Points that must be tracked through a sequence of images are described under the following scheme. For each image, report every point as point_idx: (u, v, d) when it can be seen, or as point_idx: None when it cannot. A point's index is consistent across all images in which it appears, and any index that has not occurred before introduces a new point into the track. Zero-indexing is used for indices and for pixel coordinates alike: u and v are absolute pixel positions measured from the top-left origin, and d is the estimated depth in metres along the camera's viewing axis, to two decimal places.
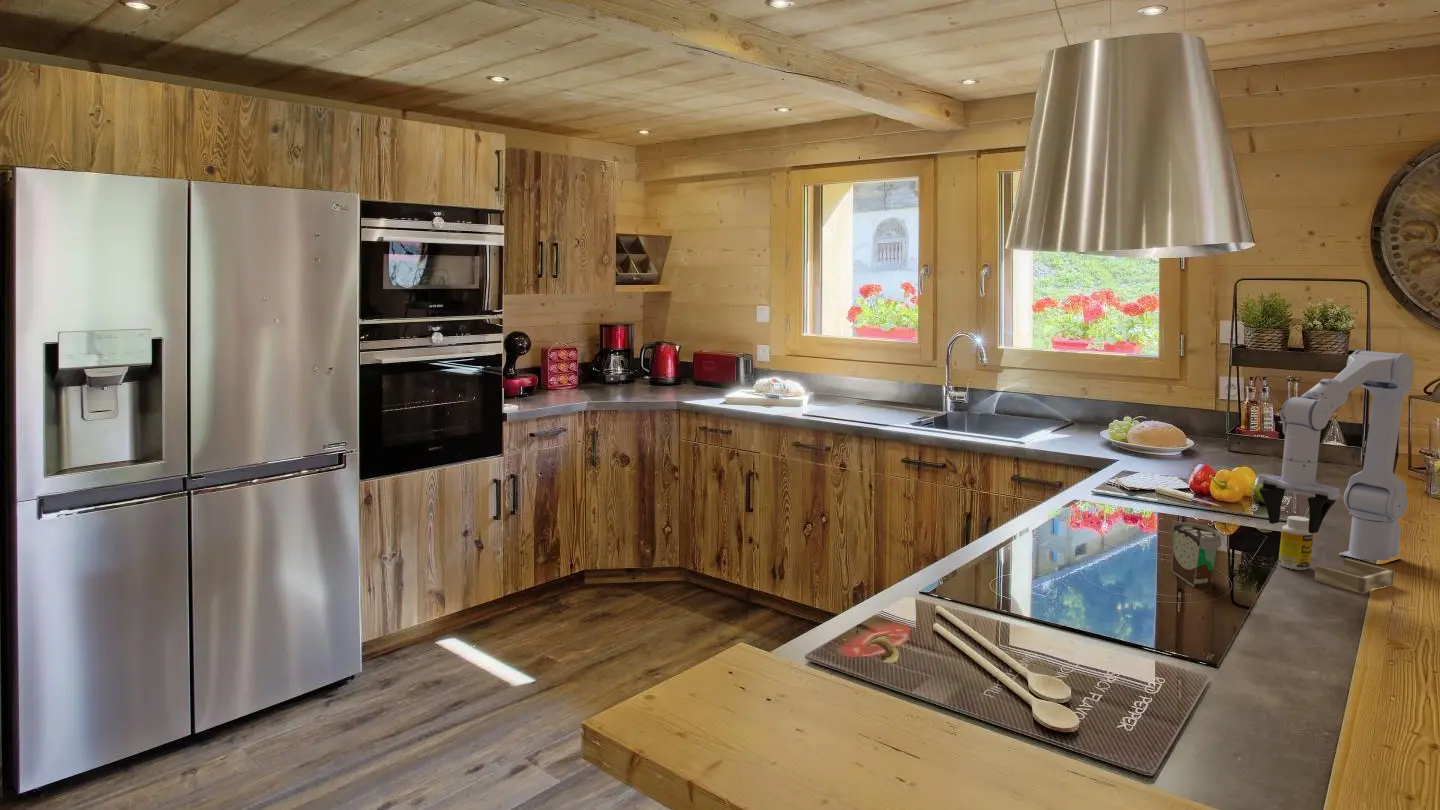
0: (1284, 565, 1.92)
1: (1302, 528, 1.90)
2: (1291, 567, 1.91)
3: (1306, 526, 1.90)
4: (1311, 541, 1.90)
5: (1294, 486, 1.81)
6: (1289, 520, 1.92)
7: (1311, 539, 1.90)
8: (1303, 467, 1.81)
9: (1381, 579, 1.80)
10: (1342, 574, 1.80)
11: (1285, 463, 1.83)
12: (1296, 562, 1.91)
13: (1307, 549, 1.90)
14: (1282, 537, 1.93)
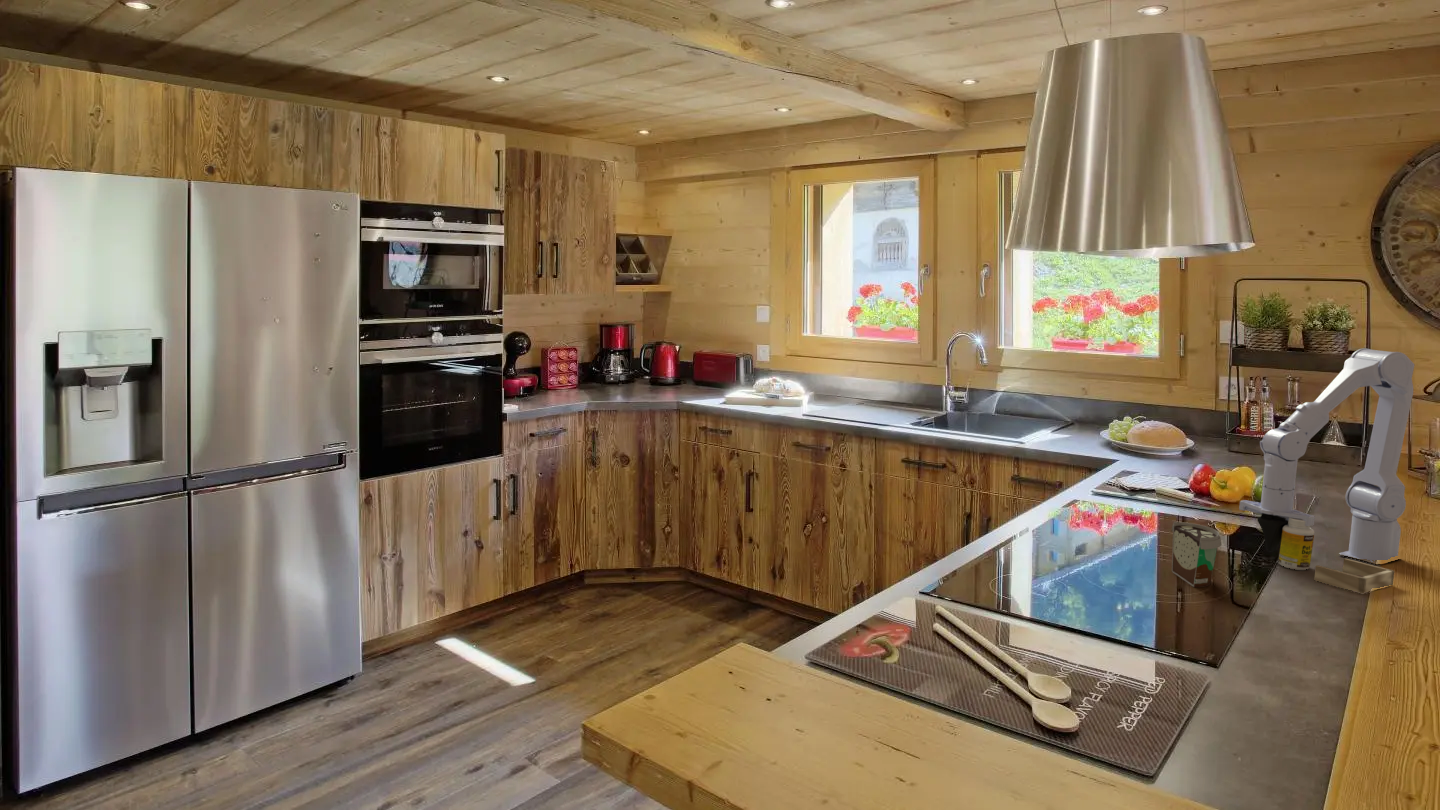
0: (1284, 565, 1.92)
1: (1303, 528, 1.90)
2: (1291, 567, 1.91)
3: (1307, 526, 1.90)
4: (1312, 541, 1.90)
5: (1272, 512, 1.93)
6: (1290, 520, 1.92)
7: (1312, 539, 1.90)
8: (1281, 495, 1.93)
9: (1381, 579, 1.80)
10: (1342, 574, 1.80)
11: (1264, 491, 1.95)
12: (1296, 562, 1.91)
13: (1307, 549, 1.90)
14: (1283, 537, 1.93)
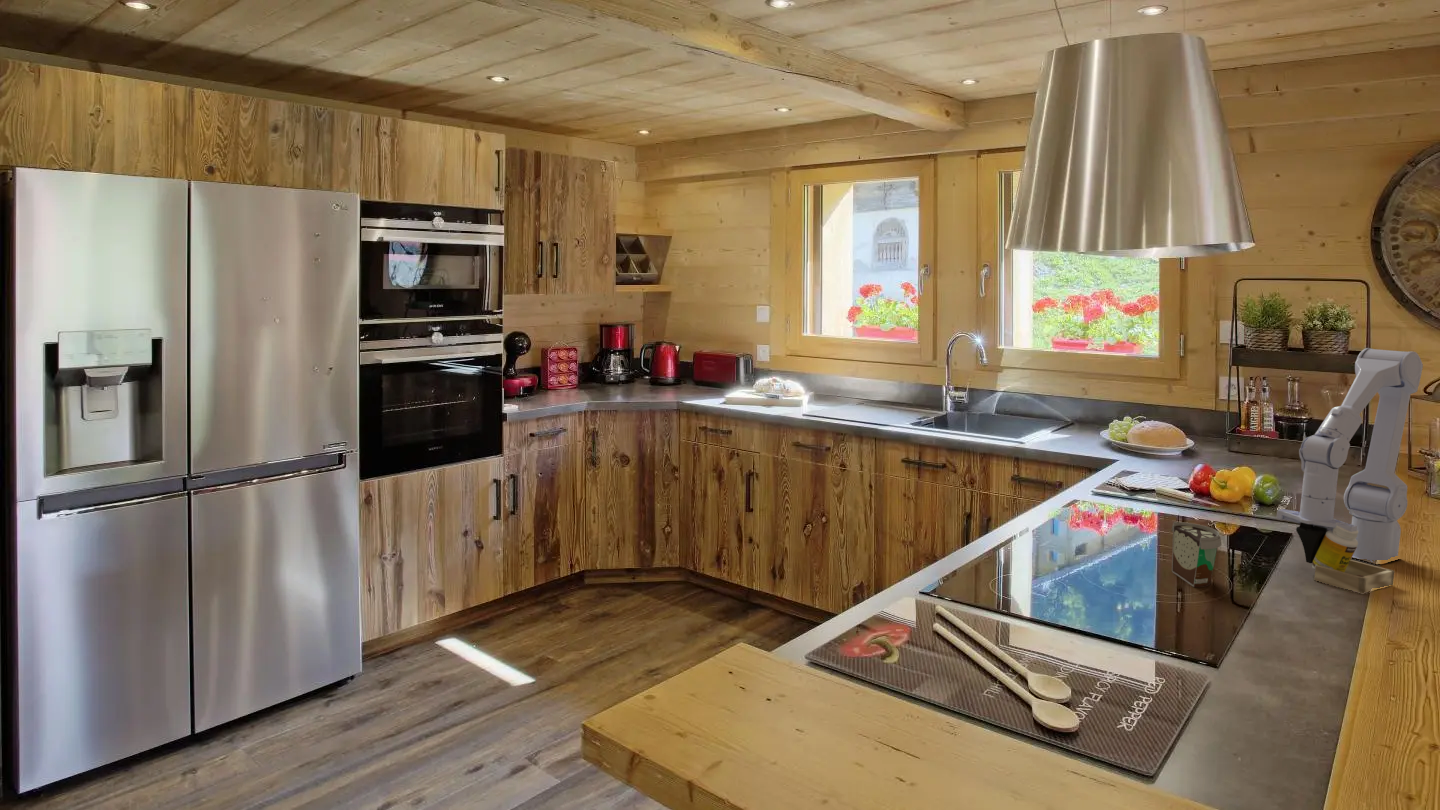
0: None
1: (1347, 539, 1.83)
2: None
3: (1353, 538, 1.83)
4: (1353, 553, 1.84)
5: (1312, 522, 1.87)
6: (1337, 528, 1.84)
7: (1353, 551, 1.83)
8: (1321, 504, 1.86)
9: (1381, 579, 1.80)
10: (1342, 574, 1.80)
11: (1304, 499, 1.88)
12: None
13: (1346, 560, 1.84)
14: (1324, 543, 1.86)
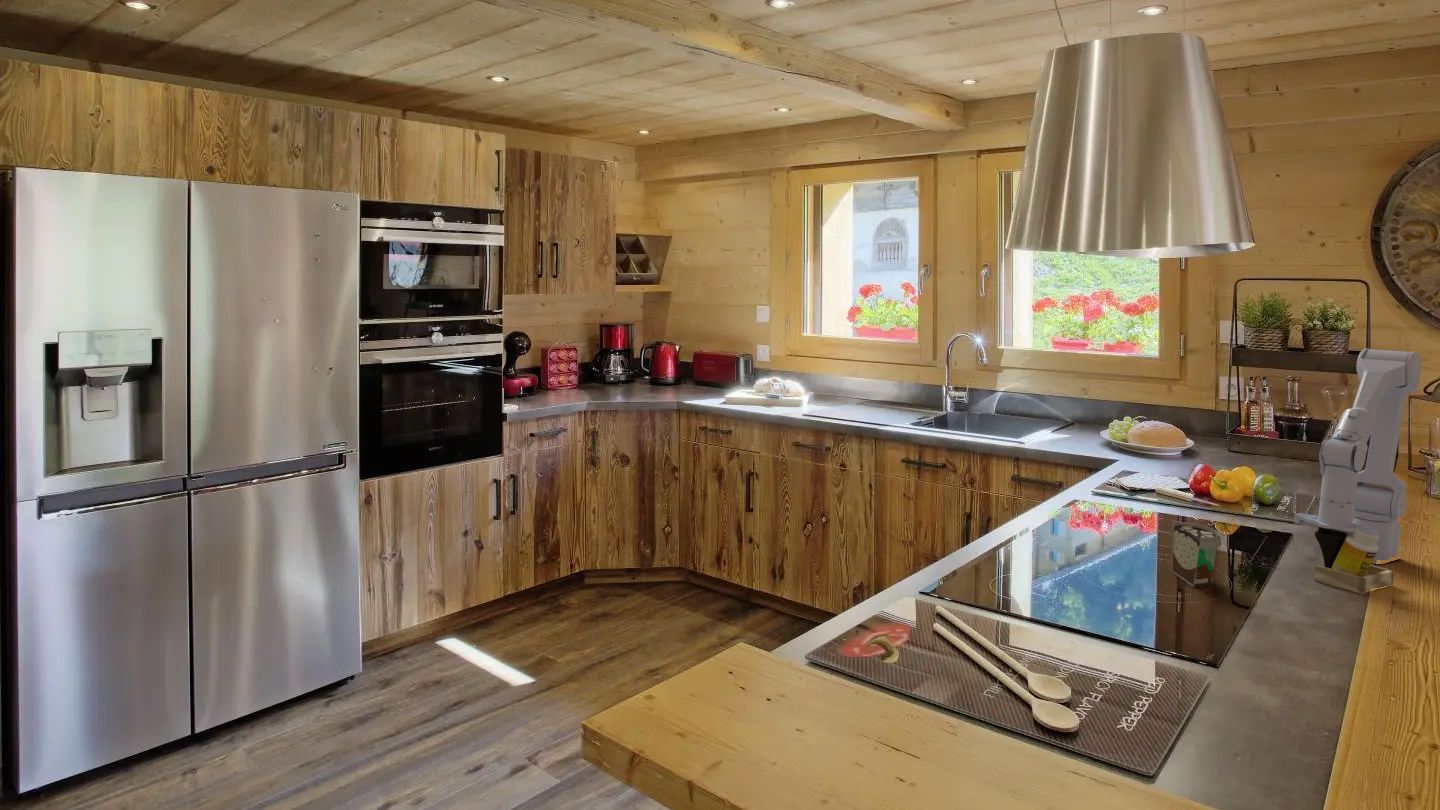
0: None
1: (1368, 544, 1.80)
2: None
3: (1373, 543, 1.79)
4: (1373, 558, 1.80)
5: (1332, 527, 1.83)
6: (1357, 533, 1.81)
7: (1374, 556, 1.80)
8: (1341, 508, 1.83)
9: (1381, 579, 1.80)
10: (1342, 574, 1.80)
11: (1322, 504, 1.85)
12: None
13: (1366, 565, 1.80)
14: (1343, 548, 1.82)
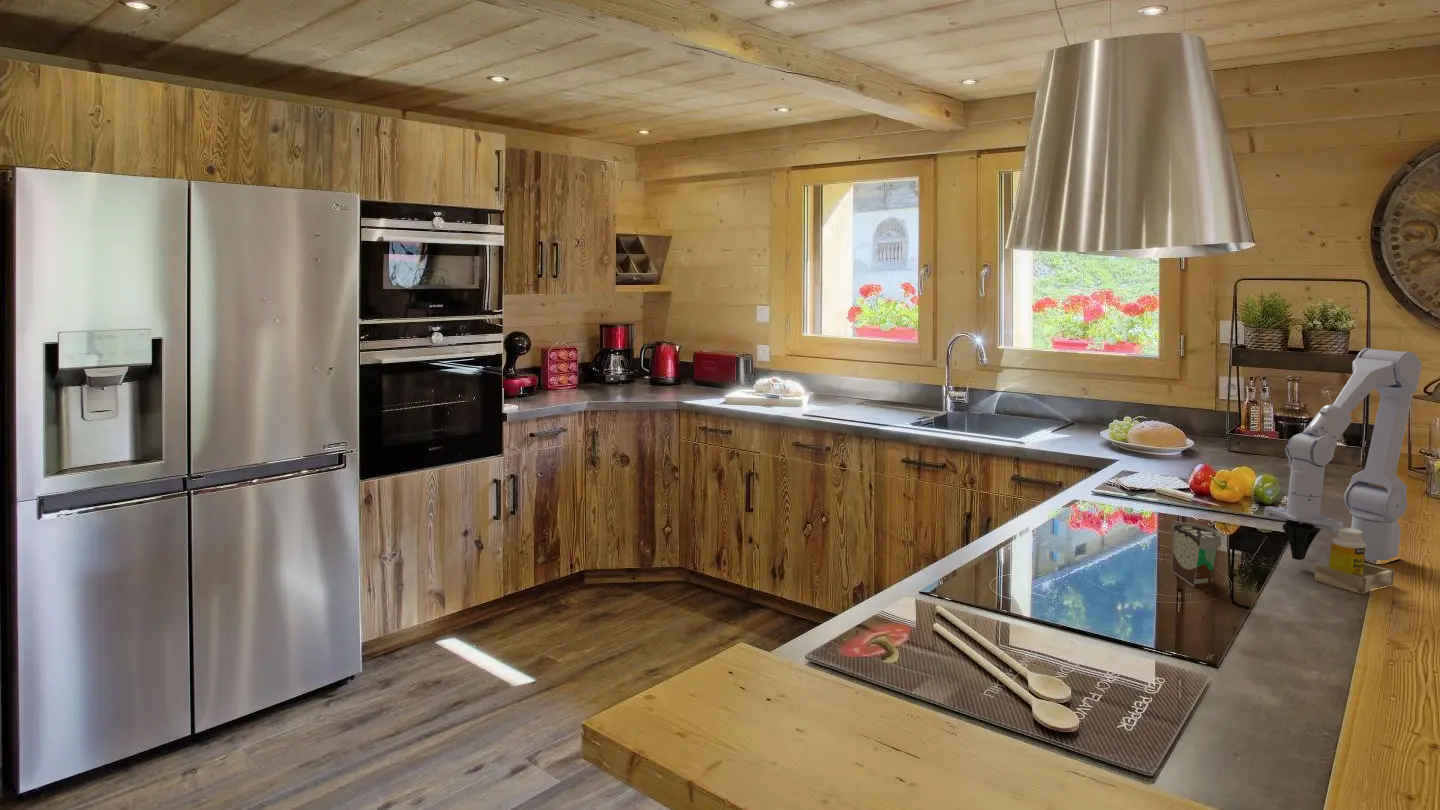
0: None
1: (1353, 540, 1.82)
2: None
3: (1358, 539, 1.82)
4: (1363, 554, 1.82)
5: (1299, 519, 1.89)
6: (1340, 532, 1.83)
7: (1363, 552, 1.82)
8: (1308, 501, 1.88)
9: (1381, 579, 1.80)
10: (1342, 574, 1.80)
11: (1291, 497, 1.90)
12: None
13: (1359, 562, 1.81)
14: (1332, 550, 1.84)
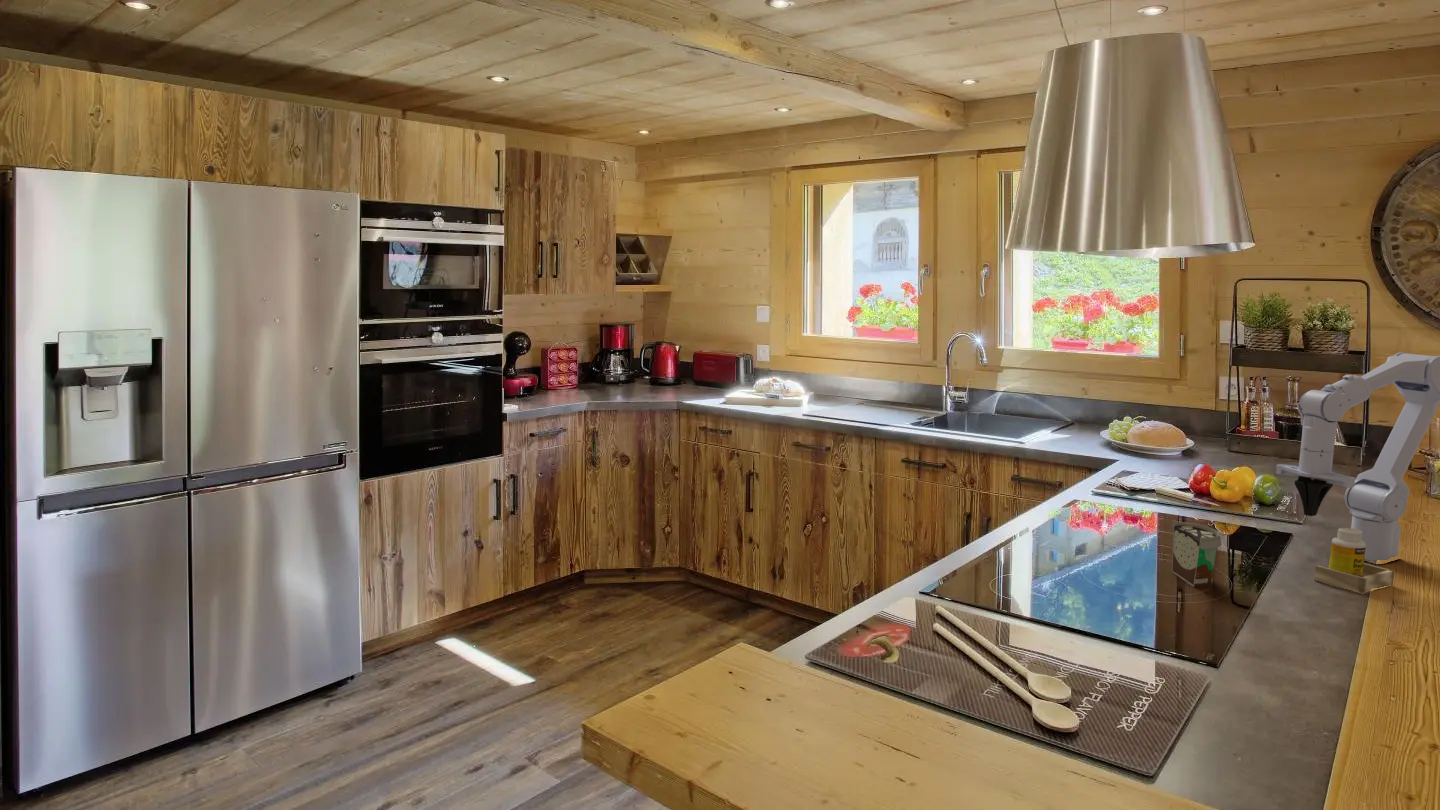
0: None
1: (1354, 540, 1.82)
2: None
3: (1358, 539, 1.82)
4: (1363, 554, 1.82)
5: (1311, 475, 1.90)
6: (1340, 532, 1.83)
7: (1363, 552, 1.82)
8: (1320, 457, 1.89)
9: (1381, 579, 1.80)
10: (1342, 574, 1.80)
11: (1303, 453, 1.92)
12: None
13: (1359, 562, 1.81)
14: (1332, 550, 1.84)
